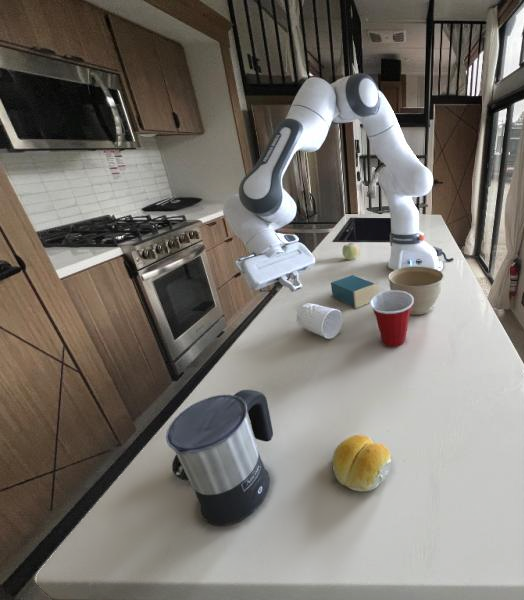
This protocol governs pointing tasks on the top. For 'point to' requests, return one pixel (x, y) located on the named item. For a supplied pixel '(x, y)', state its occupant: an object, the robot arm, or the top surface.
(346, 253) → the fruit
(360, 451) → the bread roll
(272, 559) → the top surface
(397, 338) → the plastic cup
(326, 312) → the white cup
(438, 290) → the planter bowl
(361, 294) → the teal and cream block
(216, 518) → the milk frother
